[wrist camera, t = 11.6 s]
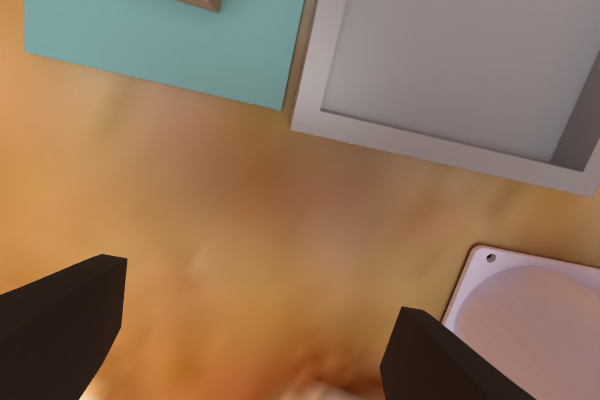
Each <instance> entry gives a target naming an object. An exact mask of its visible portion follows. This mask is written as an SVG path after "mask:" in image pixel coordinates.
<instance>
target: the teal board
mask: <svg viewBox="0 0 600 400" xmlns="http://www.w3.org/2000/svg"><path fill="white" fill-rule="evenodd" d="M303 3H304V0H221V5H220V10H219V13H215V12H212V11H209V10H205V9H202V8H199V7H195V6H192V5H189V4H185V3H182V2H179V1H175V0H25V52H27V53H32V54H36V55H40V56H45V57H49V58H53V59H58V60H62V61H66V62H71V63H75V64H79V65H84V66H88V67H92V68H97V69H101V70H105V71H110V72H114V73H118V74H123V75H127V76H131V77H136V78H140V79H144V80H149V81H153V82H157V83H162V84H166V85H170V86H175V87H179V88H183V89H188V90H192V91H196V92H201V93H205V94H209V95H214V96H218V97H222V98H227V99H231V100H235V101H240V102H244V103H248V104H253V105H257V106H261V107H266V108H270V109H274V110H279V111H281V109H282V104H283V99H284V94H285V89H286V84H287V80H288V75H289V70H290V65H291V60H292V56H293V51H294V46H295V41H296V36H297V31H298V27H299V22H300V17H301V12H302V7H303Z"/></svg>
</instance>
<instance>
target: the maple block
mask: <svg viewBox="0 0 600 400" xmlns="http://www.w3.org/2000/svg"><path fill="white" fill-rule="evenodd" d="M175 1H179V2H182V3H185V4H189V5H192V6H195V7H199V8H202V9H205V10H209V11H212V12H215V13H219V10H220V5H221V0H175Z"/></svg>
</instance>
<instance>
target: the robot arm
mask: <svg viewBox="0 0 600 400" xmlns="http://www.w3.org/2000/svg"><path fill="white" fill-rule="evenodd" d="M489 254H492V256H491V257H490V258H489V259H486V258H487V256H488V255H489ZM126 269H127V258H122V257H116V256H110V255H105V254H101V255H98V256H95V257H92V258H89V259H87V260H84V261H82V262H80V263H77V264H75V265H72V266H70V267H68V268H65V269H63V270H61V271H58V272H56V273H54V274H51V275H49V276H46V277H44V278H42V279H39V280H37V281H34V282H32V283H30V284H27V285H25V286H22V287H20V288H17V289H15V290H12V291H9V292H7V293H4V294H1V295H0V400H79V399H80V397H81V396H82V394H83V393H84V391H85V390H86V388H87V387H88V385H89V384H90V382H91V381H92V379H93V378H94V376H95V375H96V373H97V371H98V370H99V368H100V367H101V365H102V364H103V362H104V360H105V358H106V356H107V354H108V352H109V350H110V348H111V346H112V344H113V342H114V340H115V338H116V336H117V334H118V332H119V330H120V328H121V322H122V312H123V301H124V290H125V279H126ZM380 372H381V378H382V384H383V389H384V394H385V399H386V400H600V269H599V268H594V267H589V266H584V265H579V264H574V263H569V262H564V261H559V260H554V259H549V258H544V257H539V256H534V255H529V254H524V253H519V252H514V251H509V250H504V249H499V248H494V247H489V246H484V245H478V246H476V247H474V248H473V249H472V251H471V252H470V255H469V257H468V260H467V262H466V265H465V267H464V269H463V272H462V274H461V277H460V279H459V282H458V284H457V287H456V289H455V291H454V294H453V296H452V299H451V301H450V304H449V306H448V308H447V311H446V313H445V316H444V318H443V321H442V323H440V322H439V321H438V320H436V319H435V318H434V317H432V316H431V315H430V314H428V313H427V312H425V311H424V310H420V309H414V308H408V307H403V306H402V307H401V310H400V312H399V315H398V318H397V321H396V323H395V326H394V329H393V331H392V334H391V337H390V340H389V342H388V345H387V348H386V351H385V353H384V356H383V359H382V362H381V364H380Z"/></svg>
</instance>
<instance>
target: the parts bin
mask: <svg viewBox="0 0 600 400" xmlns="http://www.w3.org/2000/svg"><path fill="white" fill-rule="evenodd" d="M289 125H290V130H293V131H297V132H301V133H306V134H310V135H315V136H319V137H324V138H328V139H332V140H337V141H341V142H346V143H350V144H355V145H359V146H364V147H368V148H372V149H377V150H381V151H386V152H390V153H395V154H399V155H404V156H408V157H412V158H417V159H421V160H426V161H430V162H435V163H439V164H443V165H448V166H452V167H457V168H461V169H466V170H470V171H475V172H479V173H483V174H488V175H492V176H497V177H501V178H506V179H510V180H515V181H519V182H523V183H528V184H532V185H537V186H541V187H546V188H550V189H555V190H559V191H563V192H568V193H572V194H577V195H581V196H586V197H590V198H593V196H594V194H595V192H596V190H597V188H598V186H599V184H600V0H316V1H315V6H314V11H313V15H312V20H311V24H310V29H309V34H308V38H307V43H306V48H305V52H304V57H303V61H302V66H301V71H300V75H299V80H298V85H297V89H296V94H295V98H294V103H293V108H292V112H291V117H290V122H289Z"/></svg>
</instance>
